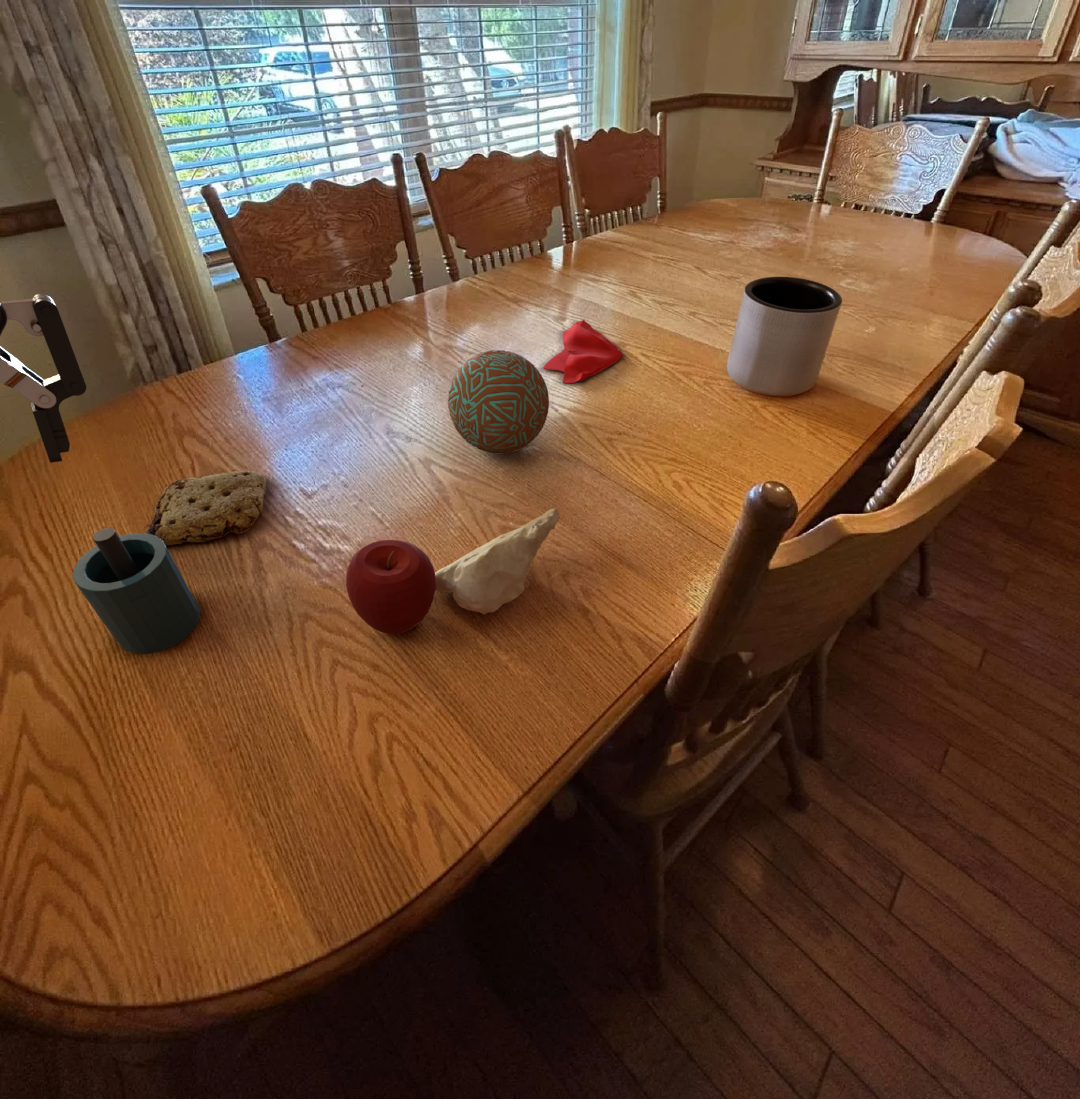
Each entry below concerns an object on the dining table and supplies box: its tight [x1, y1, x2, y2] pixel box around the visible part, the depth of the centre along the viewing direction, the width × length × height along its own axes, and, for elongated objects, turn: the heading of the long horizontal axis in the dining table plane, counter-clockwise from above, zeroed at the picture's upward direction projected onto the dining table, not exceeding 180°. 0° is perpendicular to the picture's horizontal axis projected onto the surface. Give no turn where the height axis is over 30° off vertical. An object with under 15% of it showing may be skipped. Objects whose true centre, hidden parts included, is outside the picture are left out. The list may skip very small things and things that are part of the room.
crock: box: [72, 532, 201, 655], centre depth 68 cm, size 9×9×10 cm
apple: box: [345, 539, 436, 635], centre depth 69 cm, size 10×10×10 cm
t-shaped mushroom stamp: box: [92, 527, 139, 581], centre depth 67 cm, size 4×3×13 cm
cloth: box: [542, 319, 624, 384], centre depth 122 cm, size 26×14×2 cm, turn 164°
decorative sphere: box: [447, 349, 550, 455], centre depth 94 cm, size 15×15×15 cm
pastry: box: [145, 469, 267, 547], centre depth 86 cm, size 17×17×3 cm
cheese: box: [435, 507, 561, 615], centre depth 74 cm, size 15×7×15 cm
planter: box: [726, 276, 843, 397], centre depth 110 cm, size 16×16×16 cm
